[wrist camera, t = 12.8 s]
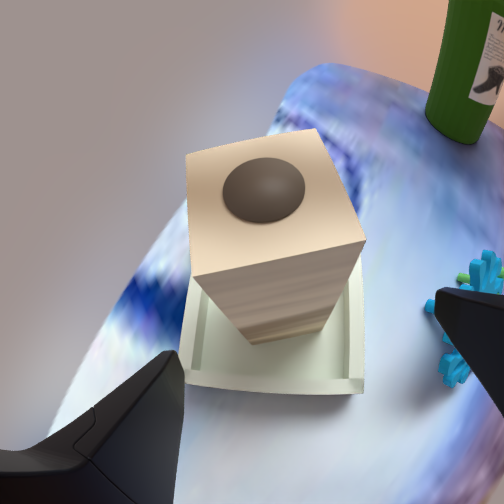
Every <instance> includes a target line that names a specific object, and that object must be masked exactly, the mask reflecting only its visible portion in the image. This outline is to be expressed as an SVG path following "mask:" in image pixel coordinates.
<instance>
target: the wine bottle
mask: <svg viewBox="0 0 504 504" xmlns="http://www.w3.org/2000/svg"><path fill="white" fill-rule="evenodd" d="M503 82H504V0H449V4H448V11H447V18H446V24H445V29H444V34H443V39H442V45H441V49H440V54H439V58H438V63H437V66H436V70H435V74H434V78H433V82H432V86H431V90H430V93H429V96H428V100H427V103H426V107H425V111H426V116H427V118H428V120H429V121H430V123H431V124H432V125H433V126H434V127H435V128H436V129H437V130H438V131H440V132H441V133H442V134H444V135H445V136H447V137H449V138H450V139H452V140H454V141H457V142H459V143H463V144H473V143H475V142H476V141H477V140H478V139H479V137H480V135H481V133H482V131H483V129H484V127H485V125H486V123H487V120H488V118H489V116H490V114H491V112H492V109H493V107H494V105H495V103H496V100H497V98H498V95H499V93H500V90H501V87H502V85H503Z"/></svg>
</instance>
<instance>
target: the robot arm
mask: <svg viewBox="0 0 504 504" xmlns="http://www.w3.org/2000/svg"><path fill="white" fill-rule="evenodd" d="M434 314H435V317H436V319H437V320H438V322H439V323H440V325H441V326H442V328H443V330H444V331H445V333H446V334H447V336H448V337H449V339H450V341H451V342H452V344H453V345H454V347H455V348H456V350H457V351H458V352H459V354H460V355H461V356H462V358H463V359H464V360H465V362H466V363H467V364H468V366H469V367H470V368H471V370H472V371H473V372H474V374H475V375H476V377H477V378H478V379H479V381H480V382H481V384H482V385H483V387H484V388H485V390H486V391H487V393H488V394H489V396H490V397H491V399H492V400H493V402H494V403H495V405H496V406H497V408H498V409H499V411H500V412H501V414H502V416H503V417H504V295H500V294H492V293H485V292H478V291H471V290H464V289H457V288H450V287H444V288H441V289H439V290H437V292H436V295H435V305H434ZM184 388H185V374H184V370H183V367H182V365H181V362H180V359H179V357H178V354H177V352H176V351H175V350H168V351H163V352H161V353H160V354H159V355H157V356H156V357H155V358H154V359H152V360H151V361H150V362H149V363H147V364H146V365H145V366H144V367H142V368H141V369H140V370H139V371H137V372H136V373H135V374H134V375H132V376H131V377H130V378H129V379H127V380H126V381H125V382H124V383H122V384H121V385H120V386H118V387H117V388H116V389H115V390H113V391H112V392H111V393H110V394H108V395H107V396H106V397H104V398H103V399H102V400H101V401H99V402H98V403H97V404H95V405H94V408H93V407H91V408H90V409H89V410H88V411H86V412H85V413H84V414H82V415H81V416H80V417H78V418H77V419H75V420H74V421H73V422H71V423H70V424H68V425H67V426H65V427H64V428H62V429H60V430H59V431H57V432H56V433H54V434H52V435H51V436H49V437H48V438H46V439H44V440H43V441H41V442H39V443H38V444H36V445H34V446H33V447H31V448H28V449H25V450H21V451H8V450H1V449H0V504H173V499H174V489H175V480H176V472H177V464H178V456H179V448H180V440H181V433H182V426H183V418H184Z"/></svg>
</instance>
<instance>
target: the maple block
mask: <svg viewBox="0 0 504 504" xmlns="http://www.w3.org/2000/svg"><path fill="white" fill-rule="evenodd" d="M186 181H187V207H188V226H189V243H190V257H191V270H192V277H193V278H194V280H195V281H196V282H197V283H198V284H199V286H200V287H201V288H202V289H203V290H204V292H205V293H206V294H207V295H208V296H209V297H210V299H211V300H212V301H213V302H214V303H215V304H216V306H217V307H218V308H219V309H220V310H221V311H222V312H223V314H224V315H225V316H226V317H227V318H228V319H229V320H230V321H231V323H232V324H233V325H234V326H235V327H236V328H237V329H238V330H239V332H240V333H241V334H242V335H243V336H244V337H245V338H246V339H247V340H248V341H249V343H250V344H251V345H257V344H262V343H267V342H272V341H277V340H282V339H287V338H291V337H296V336H300V335H305V334H309V333H313V332H318V331H322V329H323V328H324V326H325V324H326V322H327V320H328V318H329V316H330V315H331V313H332V311H333V309H334V307H335V305H336V303H337V301H338V299H339V297H340V295H341V293H342V291H343V289H344V287H345V285H346V283H347V281H348V279H349V277H350V275H351V273H352V271H353V268H354V266H355V264H356V262H357V260H358V258H359V255H360V253H361V251H362V249H363V247H364V244H365V242H366V237H365V235H364V232H363V230H362V227H361V225H360V222H359V220H358V217H357V215H356V213H355V210H354V208H353V206H352V203H351V201H350V199H349V196H348V194H347V192H346V190H345V187H344V185H343V183H342V181H341V179H340V177H339V175H338V172H337V170H336V168H335V166H334V164H333V162H332V160H331V158H330V156H329V154H328V152H327V150H326V148H325V146H324V144H323V142H322V140H321V138H320V136H319V134H318V133H317V131H316V129H315V128H314V129H307V130H300V131H294V132H288V133H282V134H276V135H270V136H265V137H260V138H255V139H250V140H245V141H240V142H235V143H231V144H226V145H222V146H218V147H214V148H210V149H206V150H202V151H198V152H194V153H190V154H186Z"/></svg>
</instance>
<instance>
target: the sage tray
mask: <svg viewBox="0 0 504 504" xmlns="http://www.w3.org/2000/svg"><path fill="white" fill-rule="evenodd" d="M178 357H179V359H180V362H181V365H182V367H183V370H184V374H185V384H192V385H198V386H205V387H212V388H220V389H229V390H238V391H249V392H261V393H277V394H304V395H335V394H362V393H363V392H364V364H365V326H364V296H363V279H362V265H361V253H360V255H359V258H358V260H357V262H356V264H355V266H354V268H353V271H352V273H351V275H350V277H349V279H348V281H347V283H346V285H345V287H344V289H343V291H342V293H341V295H340V297H339V299H338V301H337V303H336V305H335V307H334V309H333V311H332V313H331V315H330V316H329V318H328V320H327V322H326V324H325V326H324V328H323V329H322V331H318V332H313V333H309V334H305V335H300V336H296V337H291V338H287V339H282V340H277V341H272V342H267V343H262V344H257V345H251V344H250V343H249V341H248V340H247V339H246V338H245V337H244V336H243V335H242V334H241V333H240V332H239V330H238V329H237V328H236V327H235V326H234V325H233V324H232V323H231V321H230V320H229V319H228V318H227V317H226V316H225V315H224V314H223V312H222V311H221V310H220V309H219V308H218V307H217V306H216V304H215V303H214V302H213V301H212V300H211V299H210V297H209V296H208V295H207V294H206V293H205V292H204V290H203V289H202V288H201V287H200V286H199V284H198V283H197V282H196V281H195V280H194V278H193V277H192V270H191V276H190V282H189V288H188V294H187V300H186V306H185V312H184V319H183V325H182V332H181V339H180V346H179V354H178Z"/></svg>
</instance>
